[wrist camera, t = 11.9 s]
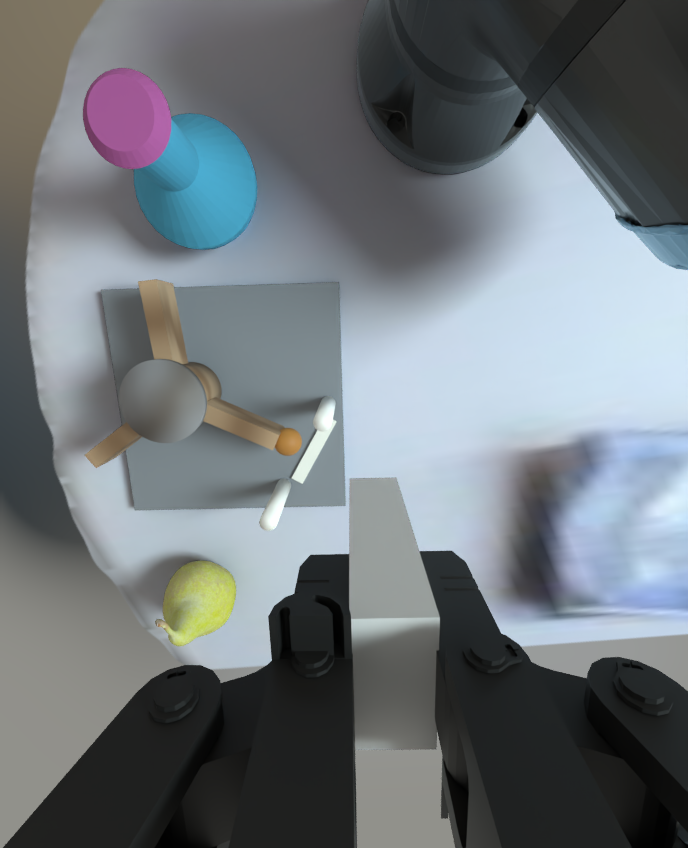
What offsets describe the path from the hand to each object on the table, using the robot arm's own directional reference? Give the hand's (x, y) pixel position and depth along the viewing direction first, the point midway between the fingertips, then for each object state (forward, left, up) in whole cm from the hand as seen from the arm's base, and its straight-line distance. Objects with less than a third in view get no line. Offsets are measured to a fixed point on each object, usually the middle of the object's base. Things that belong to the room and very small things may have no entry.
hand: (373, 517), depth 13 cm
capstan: (0, -12, -25) cm, 28 cm away
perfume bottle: (-17, -12, -27) cm, 34 cm away
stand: (0, -12, -26) cm, 29 cm away
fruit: (+19, -16, -27) cm, 36 cm away
